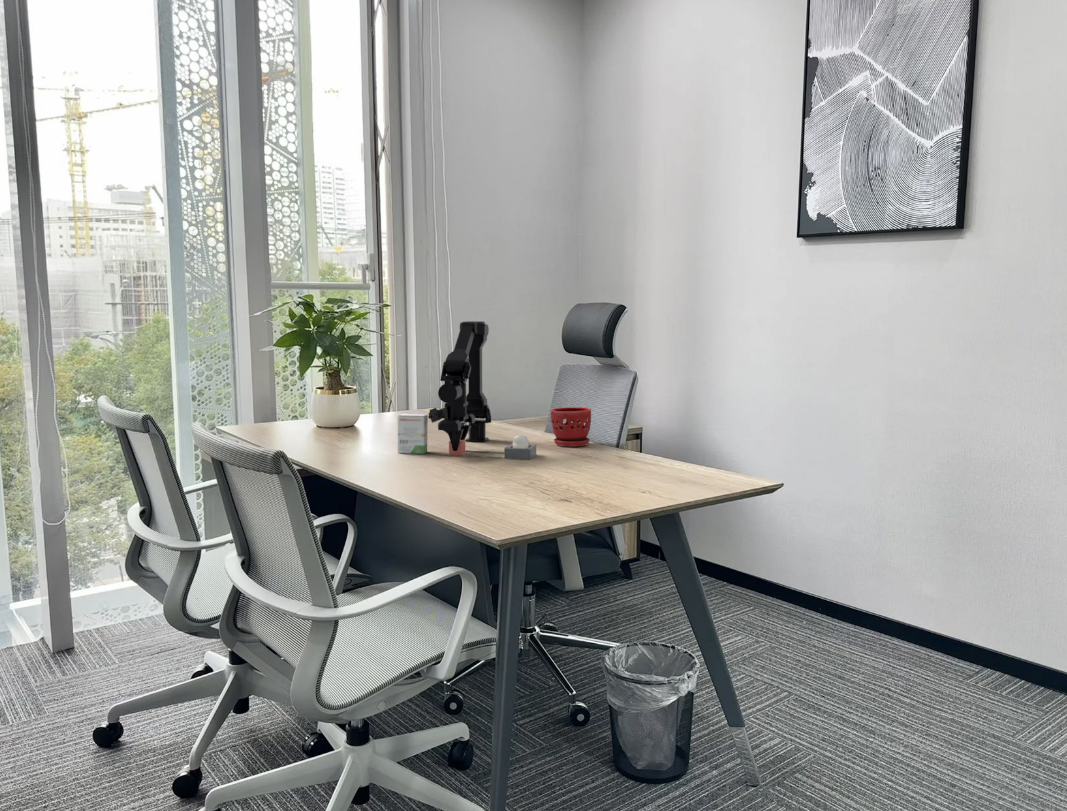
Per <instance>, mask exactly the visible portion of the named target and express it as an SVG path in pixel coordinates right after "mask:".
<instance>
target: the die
mask: <svg viewBox="0 0 1067 811" xmlns="http://www.w3.org/2000/svg"><path fill="white" fill-rule="evenodd" d="M465 440H466V439H465ZM465 440H460V443H459V446H458V449H457V451H453V448H452V445H451V442H450V440H449V441H448V454H451V455H464V454H466V452H465V450H466V441H465Z"/></svg>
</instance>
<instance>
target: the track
mask: <svg viewBox="0 0 1067 811" xmlns="http://www.w3.org/2000/svg"><path fill="white" fill-rule="evenodd" d="M465 453H482V454H483V453H485V454H503V455H504V451H488V450H485V451H484V450H466V449H465ZM444 456H445V457H463V458H465V457H466V458H467V457H468V458H484V459H485V458H486V459H487V458H488V459H502V456H492V455H473V454H470V455H467V454H465V455H464V454H463V455H451V454H449V453H447V454H445V453H444V454H443V457H444Z"/></svg>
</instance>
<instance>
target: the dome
mask: <svg viewBox="0 0 1067 811" xmlns="http://www.w3.org/2000/svg"><path fill="white" fill-rule="evenodd" d="M512 444H513V448H525V449H528V448H529V445H530V441H529V438H528V437H527V436H526V435H525V434H522V433H520V434H517V435H515V436H514V437H513V439H512Z"/></svg>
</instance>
